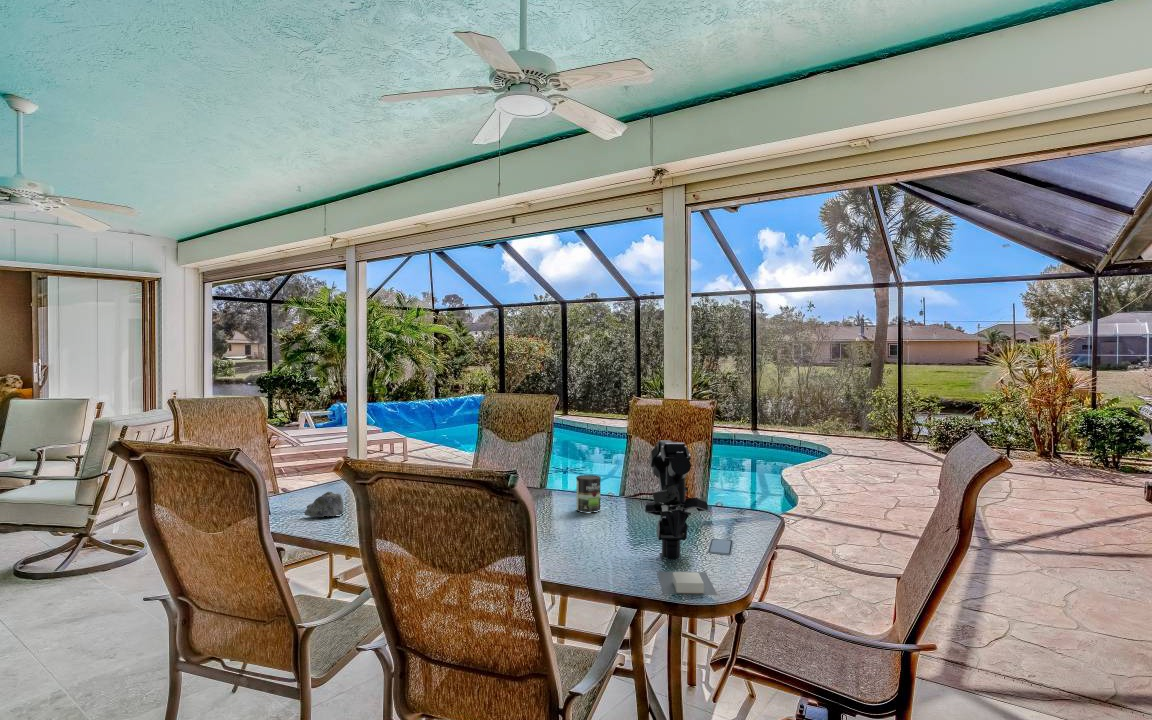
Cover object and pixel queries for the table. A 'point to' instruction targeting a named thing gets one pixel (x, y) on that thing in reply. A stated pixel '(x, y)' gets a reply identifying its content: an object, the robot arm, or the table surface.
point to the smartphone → (720, 546)
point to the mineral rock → (326, 506)
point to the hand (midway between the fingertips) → (675, 537)
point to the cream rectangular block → (688, 582)
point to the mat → (669, 587)
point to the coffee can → (588, 493)
